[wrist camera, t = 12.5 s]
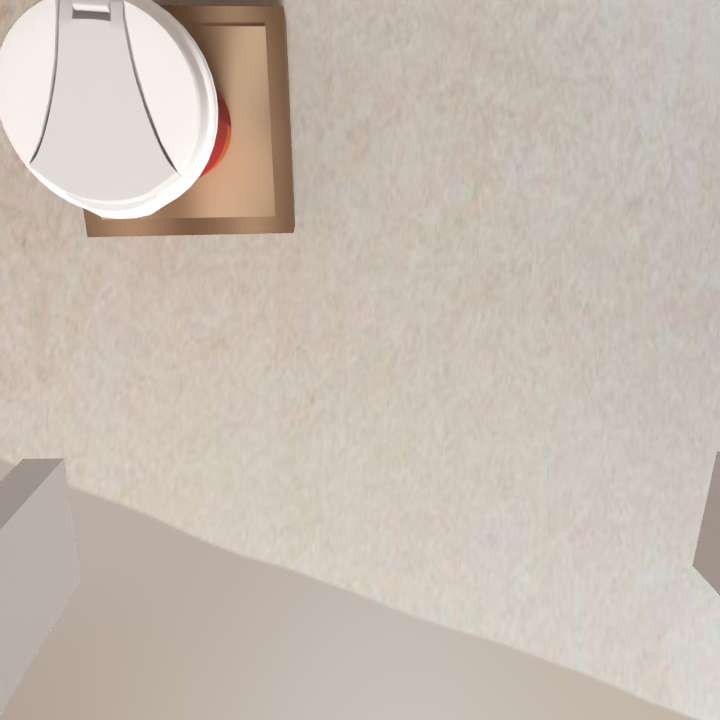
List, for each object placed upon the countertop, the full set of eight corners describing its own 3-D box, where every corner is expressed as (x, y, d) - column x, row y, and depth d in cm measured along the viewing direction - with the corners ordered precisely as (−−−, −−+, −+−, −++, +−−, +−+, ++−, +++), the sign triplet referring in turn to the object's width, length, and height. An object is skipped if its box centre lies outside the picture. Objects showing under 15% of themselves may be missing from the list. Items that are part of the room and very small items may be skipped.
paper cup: (104, 45, 32) (-39, -36, 19) (250, 54, 33) (208, -19, 20) (116, 196, 35) (-5, 217, 22) (251, 202, 35) (216, 225, 22)
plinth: (285, 21, 36) (283, 5, 32) (294, 226, 40) (293, 233, 36) (79, 21, 35) (51, 4, 32) (108, 230, 39) (86, 237, 35)
